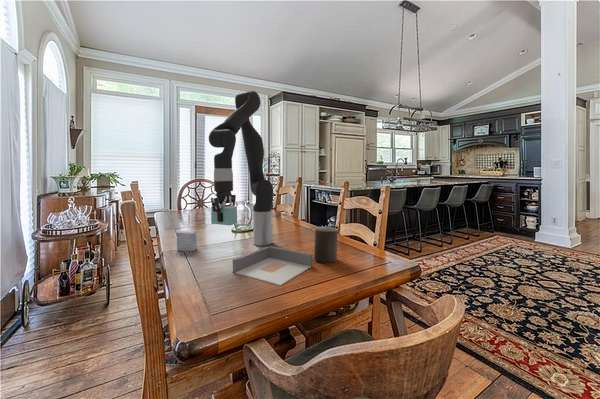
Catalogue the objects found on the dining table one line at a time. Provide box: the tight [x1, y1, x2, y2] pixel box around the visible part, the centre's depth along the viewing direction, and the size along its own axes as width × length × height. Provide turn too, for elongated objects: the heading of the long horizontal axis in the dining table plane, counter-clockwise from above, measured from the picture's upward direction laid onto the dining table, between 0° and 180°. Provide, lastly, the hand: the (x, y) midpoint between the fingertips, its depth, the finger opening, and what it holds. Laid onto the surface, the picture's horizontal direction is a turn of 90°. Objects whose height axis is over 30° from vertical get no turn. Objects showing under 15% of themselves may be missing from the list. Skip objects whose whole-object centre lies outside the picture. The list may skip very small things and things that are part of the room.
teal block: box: [210, 205, 238, 226], centre depth 116 cm, size 5×9×7 cm, turn 68°
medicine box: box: [175, 230, 198, 252], centre depth 133 cm, size 8×4×9 cm, turn 84°
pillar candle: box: [313, 226, 339, 264], centre depth 120 cm, size 10×10×15 cm
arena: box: [232, 245, 314, 287], centre depth 109 cm, size 22×22×5 cm
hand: (224, 220), depth 116 cm, fingers closed on teal block, 5 cm apart
